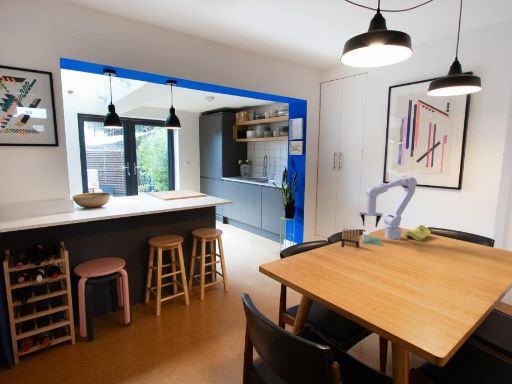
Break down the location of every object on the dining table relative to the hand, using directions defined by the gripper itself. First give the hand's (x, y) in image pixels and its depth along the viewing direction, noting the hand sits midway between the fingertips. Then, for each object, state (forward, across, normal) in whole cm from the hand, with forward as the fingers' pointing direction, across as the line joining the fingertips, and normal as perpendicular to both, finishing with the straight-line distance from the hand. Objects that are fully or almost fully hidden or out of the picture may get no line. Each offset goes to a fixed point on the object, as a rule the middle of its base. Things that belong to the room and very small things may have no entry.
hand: (369, 226), depth 193 cm
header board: (+9, +1, -7) cm, 12 cm away
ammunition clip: (+10, -12, -22) cm, 27 cm away
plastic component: (+10, +33, +18) cm, 39 cm away
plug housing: (+8, -2, -8) cm, 12 cm away
